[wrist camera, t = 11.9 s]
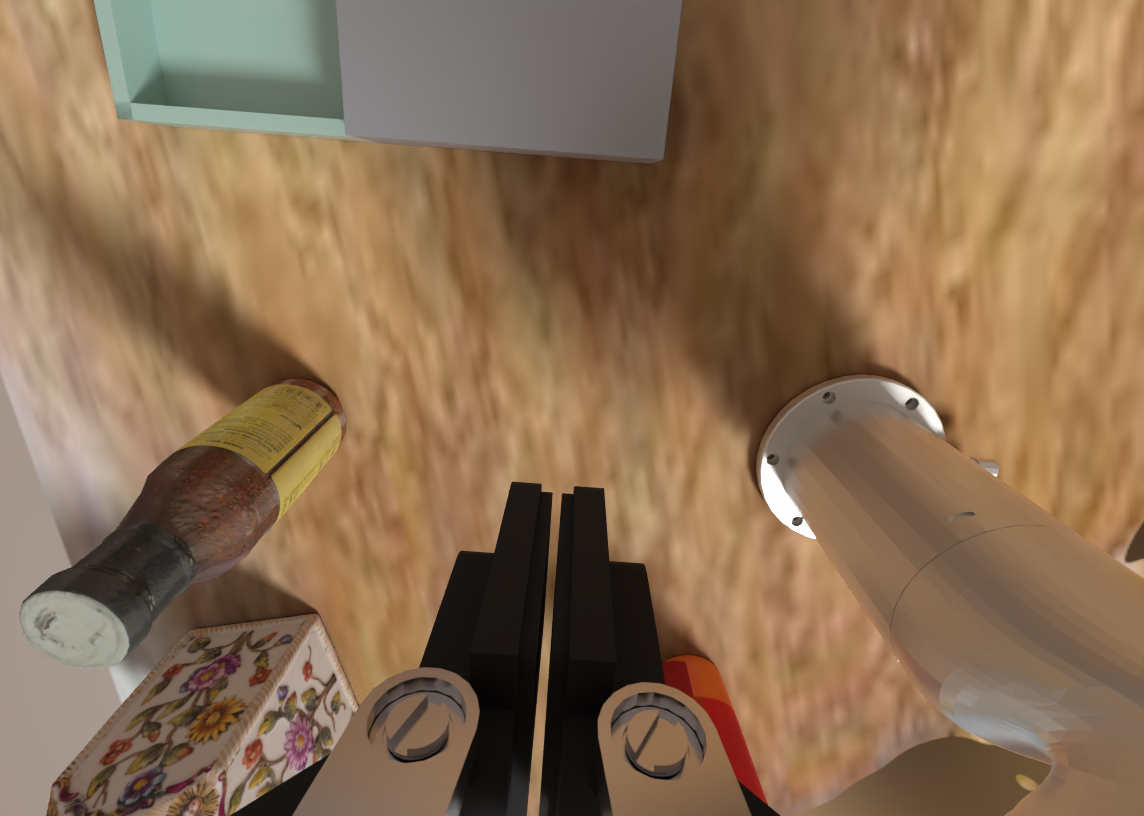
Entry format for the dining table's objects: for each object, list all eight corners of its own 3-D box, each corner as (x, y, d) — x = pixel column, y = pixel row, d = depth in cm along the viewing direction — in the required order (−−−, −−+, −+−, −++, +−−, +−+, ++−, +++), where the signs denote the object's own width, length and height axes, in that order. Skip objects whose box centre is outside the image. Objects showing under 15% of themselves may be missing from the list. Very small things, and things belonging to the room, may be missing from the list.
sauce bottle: (245, 391, 38) (-72, 579, 20) (323, 361, 37) (70, 529, 19) (294, 470, 40) (51, 706, 22) (369, 444, 40) (182, 667, 21)
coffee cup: (641, 719, 49) (664, 929, 35) (633, 648, 46) (656, 847, 32) (736, 712, 48) (799, 923, 34) (735, 639, 45) (803, 838, 32)
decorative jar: (187, 624, 46) (-40, 873, 29) (319, 606, 45) (164, 853, 28) (242, 726, 50) (73, 994, 33) (365, 712, 49) (253, 980, 33)
